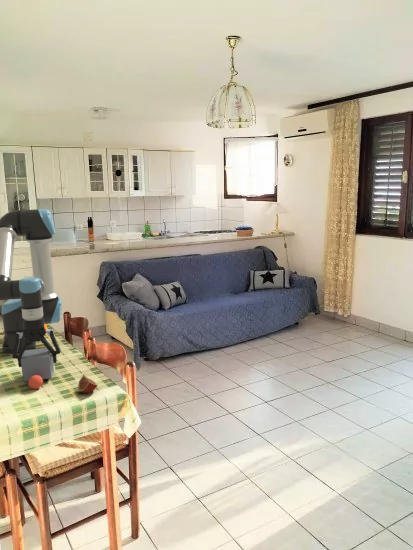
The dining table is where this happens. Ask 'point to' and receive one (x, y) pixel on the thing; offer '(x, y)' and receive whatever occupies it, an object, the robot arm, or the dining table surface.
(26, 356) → the slate gray cube
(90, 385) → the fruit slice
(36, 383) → the ball
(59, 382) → the dining table surface
